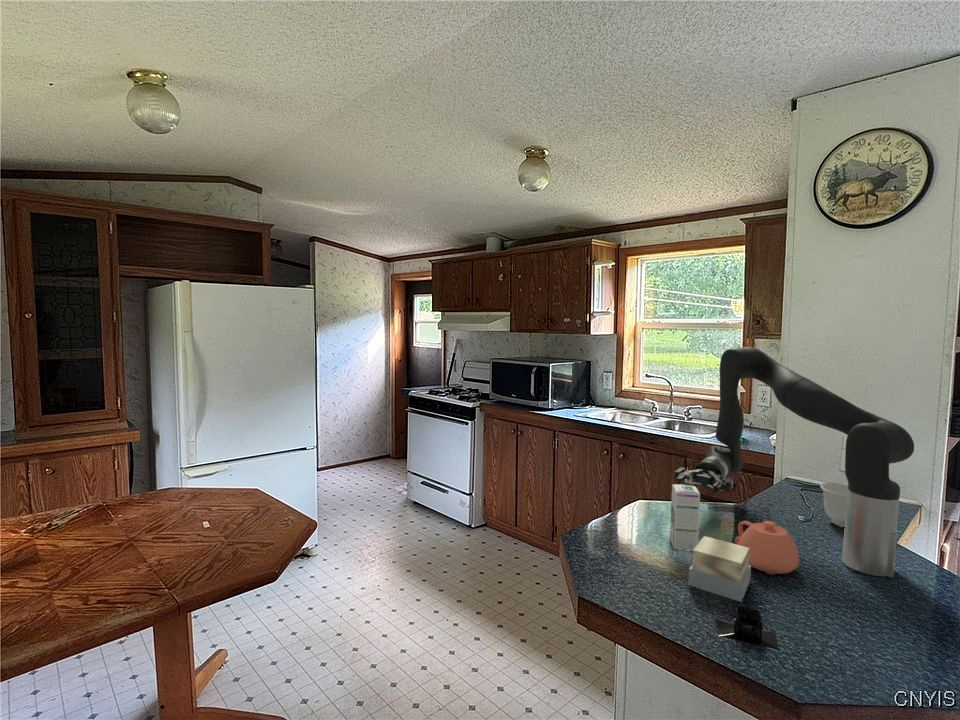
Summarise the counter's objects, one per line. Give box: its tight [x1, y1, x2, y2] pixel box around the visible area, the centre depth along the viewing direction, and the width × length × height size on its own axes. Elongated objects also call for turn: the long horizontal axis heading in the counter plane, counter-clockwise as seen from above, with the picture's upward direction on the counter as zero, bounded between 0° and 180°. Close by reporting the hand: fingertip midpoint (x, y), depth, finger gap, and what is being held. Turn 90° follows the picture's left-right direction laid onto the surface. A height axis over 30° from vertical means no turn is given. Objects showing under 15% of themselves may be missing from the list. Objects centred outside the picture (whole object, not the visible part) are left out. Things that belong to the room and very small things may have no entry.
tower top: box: [691, 535, 750, 583], centre depth 106 cm, size 9×9×4 cm
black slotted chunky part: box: [715, 605, 780, 651], centre depth 89 cm, size 12×7×5 cm, turn 68°
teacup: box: [819, 482, 848, 528], centre depth 142 cm, size 12×15×10 cm
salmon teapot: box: [734, 520, 800, 576], centre depth 116 cm, size 12×14×10 cm
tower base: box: [687, 564, 752, 603], centre depth 107 cm, size 10×10×4 cm
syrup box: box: [669, 483, 701, 552], centre depth 124 cm, size 6×6×14 cm
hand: (696, 485), depth 133 cm, fingers open, 8 cm apart
